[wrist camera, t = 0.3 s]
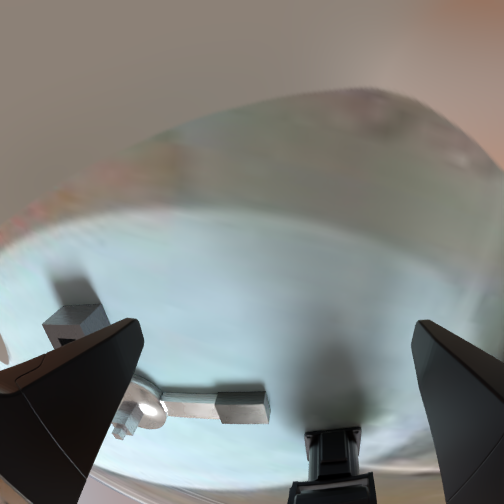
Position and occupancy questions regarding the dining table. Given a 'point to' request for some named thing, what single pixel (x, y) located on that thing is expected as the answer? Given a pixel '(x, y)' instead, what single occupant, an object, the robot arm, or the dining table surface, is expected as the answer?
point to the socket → (74, 323)
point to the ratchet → (185, 407)
